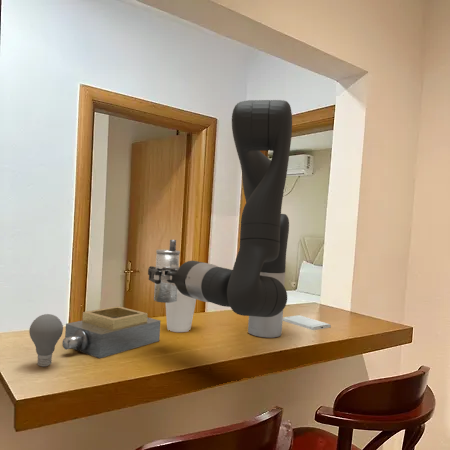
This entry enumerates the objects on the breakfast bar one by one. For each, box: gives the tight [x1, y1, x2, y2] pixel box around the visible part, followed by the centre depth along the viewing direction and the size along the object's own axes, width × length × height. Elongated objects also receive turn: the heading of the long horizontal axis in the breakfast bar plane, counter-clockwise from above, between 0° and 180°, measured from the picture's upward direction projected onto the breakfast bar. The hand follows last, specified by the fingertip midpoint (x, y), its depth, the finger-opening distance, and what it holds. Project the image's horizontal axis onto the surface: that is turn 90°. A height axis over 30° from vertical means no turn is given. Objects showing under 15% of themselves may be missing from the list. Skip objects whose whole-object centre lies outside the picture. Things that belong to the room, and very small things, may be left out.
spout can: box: [153, 239, 181, 304], centre depth 95 cm, size 5×5×14 cm
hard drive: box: [282, 314, 332, 331], centre depth 129 cm, size 2×8×12 cm
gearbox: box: [61, 305, 161, 359], centre depth 96 cm, size 22×12×7 cm, turn 146°
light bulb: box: [29, 313, 64, 368], centre depth 81 cm, size 6×6×10 cm
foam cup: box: [165, 289, 197, 333], centre depth 114 cm, size 10×9×13 cm
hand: (161, 270), depth 97 cm, fingers closed on spout can, 5 cm apart
